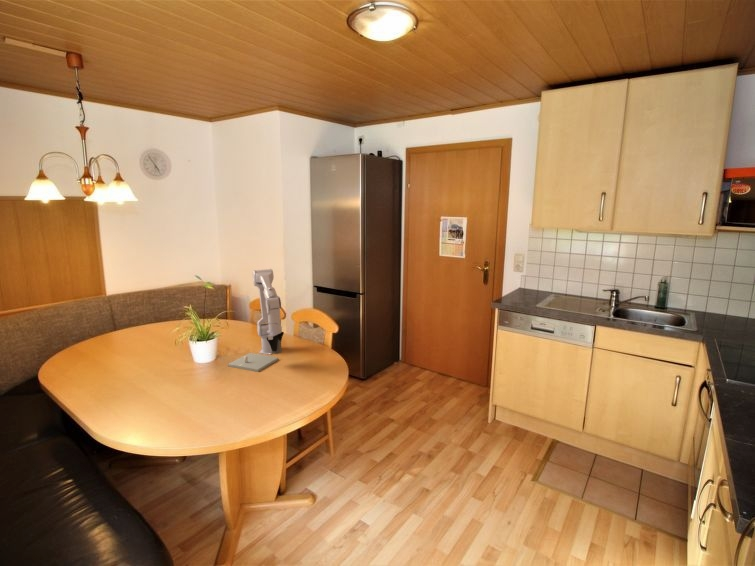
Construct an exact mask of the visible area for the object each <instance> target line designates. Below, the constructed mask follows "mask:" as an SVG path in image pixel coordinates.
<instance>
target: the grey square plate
mask: <svg viewBox="0 0 755 566" xmlns="http://www.w3.org/2000/svg"><path fill="white" fill-rule="evenodd" d="M278 360H279V357H277V356H271V355H267V354H261V353H252V352H248V353H247V354H244V355H242V356H241V357H239V358H236V359H235V360H233V361H231V362H229V363H228V364H227V367H230V368H234V369H239V370H240V369H241V370H245V371H251V372H255V373H256V372H257V373H259V372H261V371H263V370H264V369H266V368H267V367H269V366H271V365H272V364H274V363H275V362H278Z"/></svg>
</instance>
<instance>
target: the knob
mask: <svg viewBox="0 0 755 566" xmlns="http://www.w3.org/2000/svg"><path fill="white" fill-rule="evenodd" d="M271 352H272V354H271V355H278V354H281V353H282V340H278V344H277V351H272V349H271Z"/></svg>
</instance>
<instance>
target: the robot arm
mask: <svg viewBox="0 0 755 566" xmlns="http://www.w3.org/2000/svg"><path fill="white" fill-rule="evenodd" d="M252 280H253V286H254V287H256V288H257V289H258V295H259V304H260V312H261V318H260V319H259V320H258V321H257V322H256V325H257V326H256V331H257V335H258V337H260V342H261V344H260V345H261V350H259V351H258V353H257V354H261V355H267V356H271V355H273V354H272V352H271V349H272V351H277V344H278V340H281V341H282V340H283V337H284V334H285V333H284V331H283V327H282V322H281V321H282V320H281V309H282V302H281V301H282V300H281V297H280V296H279V295H278V294H277V291H276V288H275V287H273V286H272V284H273V281H274V271H273V269H272V268H269V269H257V270H256V269H253V271H252Z"/></svg>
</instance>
